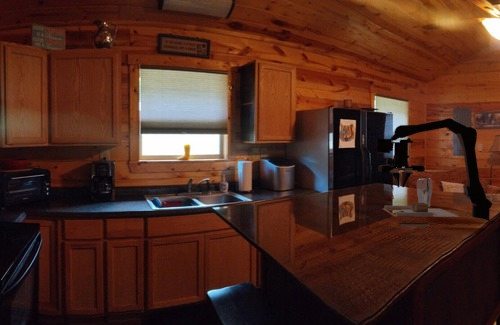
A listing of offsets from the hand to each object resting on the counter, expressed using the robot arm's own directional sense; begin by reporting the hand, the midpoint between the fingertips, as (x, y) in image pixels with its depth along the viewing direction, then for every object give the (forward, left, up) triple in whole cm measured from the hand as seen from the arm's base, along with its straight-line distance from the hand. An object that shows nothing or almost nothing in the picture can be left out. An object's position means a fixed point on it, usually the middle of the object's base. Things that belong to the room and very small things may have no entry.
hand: (400, 187), depth 148 cm
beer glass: (+16, -18, -13) cm, 27 cm away
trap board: (0, -9, -13) cm, 16 cm away
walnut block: (0, -9, -12) cm, 14 cm away
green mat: (-14, +1, -13) cm, 19 cm away
